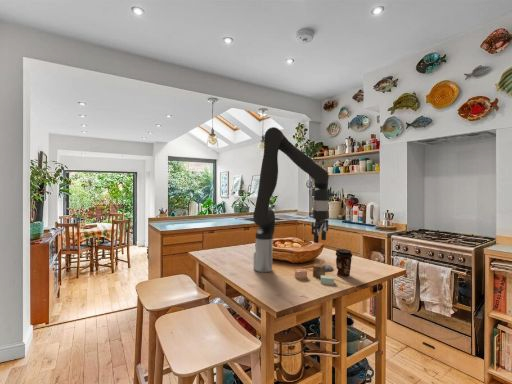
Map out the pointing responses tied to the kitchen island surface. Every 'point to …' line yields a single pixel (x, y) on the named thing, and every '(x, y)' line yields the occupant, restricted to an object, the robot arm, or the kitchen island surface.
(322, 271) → the walnut block
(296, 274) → the small brown block
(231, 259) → the kitchen island surface
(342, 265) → the coffee cup
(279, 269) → the kitchen island surface
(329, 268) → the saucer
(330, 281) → the sage block
